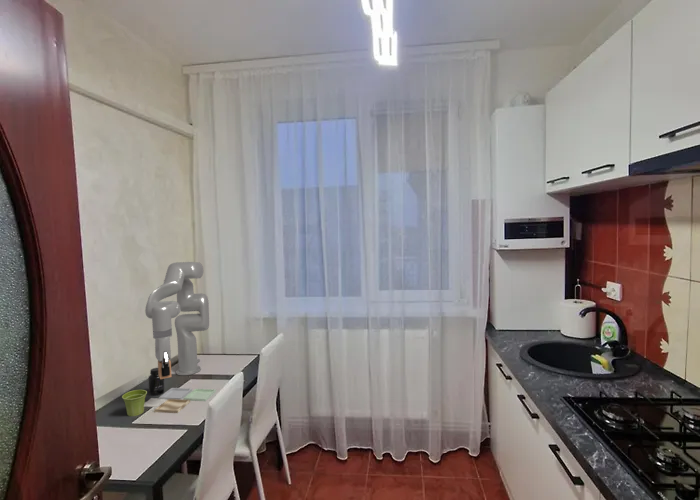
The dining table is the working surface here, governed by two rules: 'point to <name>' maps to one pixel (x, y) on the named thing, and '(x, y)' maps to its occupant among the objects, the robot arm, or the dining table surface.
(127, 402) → the plant pot
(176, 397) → the tray grey
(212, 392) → the tray green
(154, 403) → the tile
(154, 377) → the supplement bottle
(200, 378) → the dining table surface
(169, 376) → the letter block
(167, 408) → the tray birch
